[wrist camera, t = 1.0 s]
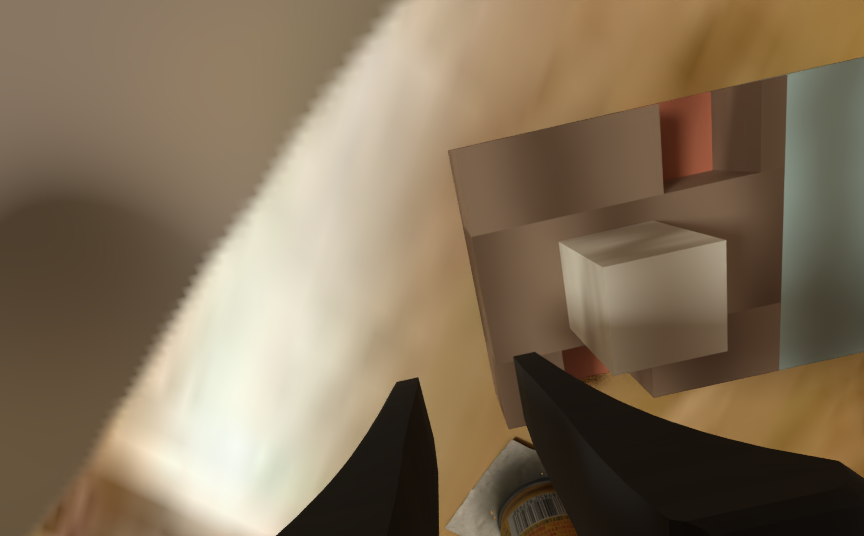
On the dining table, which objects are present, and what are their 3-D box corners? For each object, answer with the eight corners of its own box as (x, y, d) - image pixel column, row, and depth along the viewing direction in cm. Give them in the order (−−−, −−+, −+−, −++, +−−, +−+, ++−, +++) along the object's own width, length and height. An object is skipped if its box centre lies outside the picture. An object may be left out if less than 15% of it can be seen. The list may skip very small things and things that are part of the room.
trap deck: (836, 63, 18) (958, 36, 14) (821, 321, 22) (915, 359, 18) (447, 150, 18) (458, 149, 14) (495, 393, 22) (514, 447, 18)
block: (653, 220, 17) (726, 239, 13) (658, 308, 18) (727, 351, 14) (558, 241, 17) (602, 267, 13) (569, 328, 18) (613, 376, 14)
